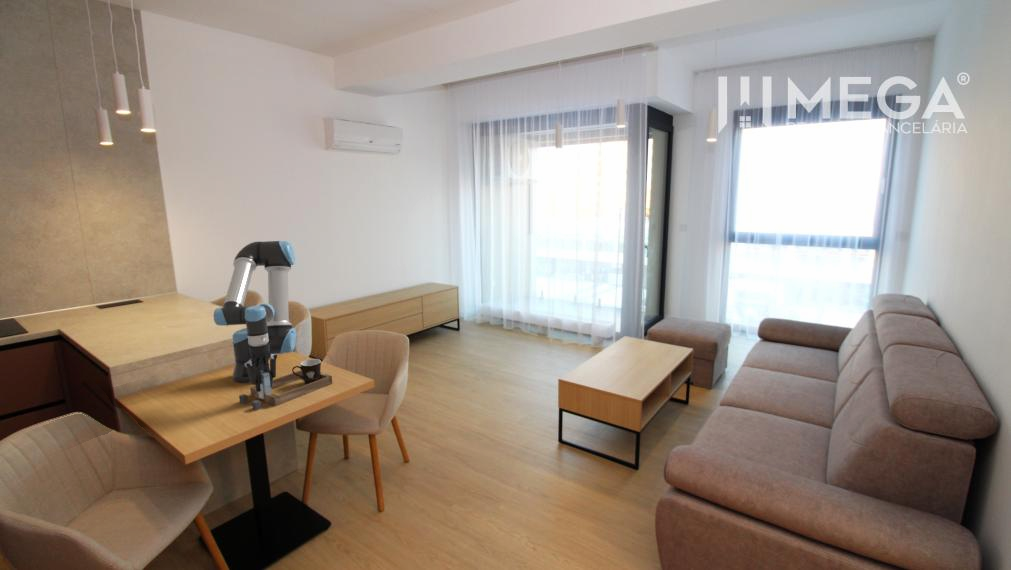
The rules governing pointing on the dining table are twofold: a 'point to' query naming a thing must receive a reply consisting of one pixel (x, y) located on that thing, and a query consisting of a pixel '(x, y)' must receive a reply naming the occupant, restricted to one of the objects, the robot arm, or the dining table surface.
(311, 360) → the coffee mug
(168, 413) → the dining table surface
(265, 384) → the brown frame
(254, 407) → the block
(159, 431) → the dining table surface
